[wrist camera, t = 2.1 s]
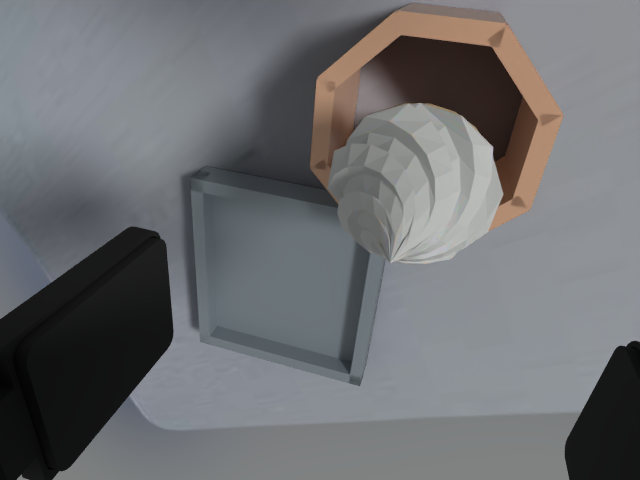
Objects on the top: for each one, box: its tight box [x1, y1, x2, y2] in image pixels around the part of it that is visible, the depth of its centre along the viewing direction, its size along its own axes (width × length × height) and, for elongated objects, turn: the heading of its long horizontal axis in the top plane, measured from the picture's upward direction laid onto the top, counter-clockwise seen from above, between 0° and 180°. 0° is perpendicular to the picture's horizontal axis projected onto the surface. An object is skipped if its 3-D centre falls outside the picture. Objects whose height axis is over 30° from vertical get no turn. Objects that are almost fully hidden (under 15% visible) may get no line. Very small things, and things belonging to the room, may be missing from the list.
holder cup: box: [310, 3, 563, 231], centre depth 22 cm, size 10×10×6 cm
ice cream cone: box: [327, 103, 503, 265], centre depth 18 cm, size 6×6×15 cm
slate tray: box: [190, 166, 386, 386], centre depth 31 cm, size 13×12×2 cm
